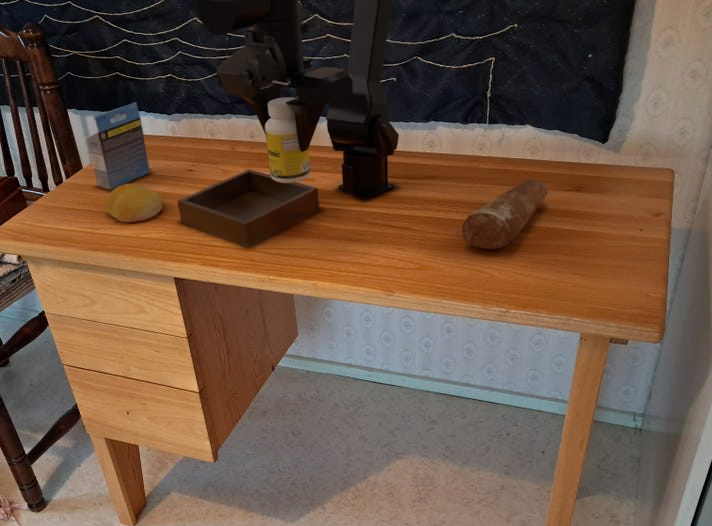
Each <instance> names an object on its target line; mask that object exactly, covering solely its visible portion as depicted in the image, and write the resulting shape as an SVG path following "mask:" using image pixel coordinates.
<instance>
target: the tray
mask: <svg viewBox="0 0 712 526" xmlns="http://www.w3.org/2000/svg"><path fill="white" fill-rule="evenodd" d="M177 207H178V212H179V219H180V223H181V224H184V225H186V226H188V227H192V228H194V229H197V230H200V231H203V232H205V233H208V234H211V235H213V236H216V237H219V238H222V239H225V240H228V241H229V242H232V243H236V244H239V245H240V246H244V247H247V248H250V247H252V246H254V245H256V244H258V243H260V242H261V241H262V242H263V241H264V240H265V239H266V240H267V239H268V238H270V237H271V236H273V235H276V234H277V233H279V232H281V231H283V230H285V229H286V228H288V227H291V226H293V225H294V224H296V223H298V222H300V221H302V220H304V219H306V218H308V217H310V216H312V215H314V214H316V213H317V212H320V201H319V189H318V187H315V186H311V185H308V184H305V183H300V182H294V183H280V182H277V181H275V180H273V179H272V178H271V174H268V173H264V172H260V171H256V170H253V169H250V168H249V169H246V170H244V171H241V172H240V173H238V174H235V175H233V176H231V177H228V178H226V179H224V180H222V181H219V182H217V183H214V184H213V185H210V186H208V187H205V188H203V189H201V190H199V191H196V192H194V193H192V194H190V195H187V196H185V197H183V198H181V199H177Z"/></svg>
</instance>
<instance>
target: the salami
mask: <svg viewBox="0 0 712 526" xmlns="http://www.w3.org/2000/svg"><path fill="white" fill-rule="evenodd" d="M547 194H548V188H547V185H546V184H545V183H544V182H543V181H542V180H540V179H536V178H529V179H527V180H524V181H523V182H521V183H520V184H517V185H516V186H514V187H512V188H511V189H509V190H507V191H505V192H504V193H501V194H500V195H498V196H497V197H495V198H493V199H491V200H490V201H488V202H486V203H485V204H484V205H482V206H480V207H479V208H476V209H475V210H474V211H473V212H472V213H470V214H468V215H467V217H466V218H465V220H464V221H463V224H462V229H461V230H462V236H463V239H464V241H465V243H466V244H468V245H469V246H472V247H476V248H481V249H487V250H497V249H502V248H504V247H506V246H507V245H509V244H510V243H511V242H512V241H514V239H515V238H516V236H517V235H518V234H519V233H520V232H521V231H522V229H523V228H524V227H525V226H526V225H527V224H528V223H529V221H530V219H531V217H532V216H533V215H534V213H536V211H537V210H538V208H540V205H541V204H542V202H543V201H544V200H545V199H546V196H547Z"/></svg>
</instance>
